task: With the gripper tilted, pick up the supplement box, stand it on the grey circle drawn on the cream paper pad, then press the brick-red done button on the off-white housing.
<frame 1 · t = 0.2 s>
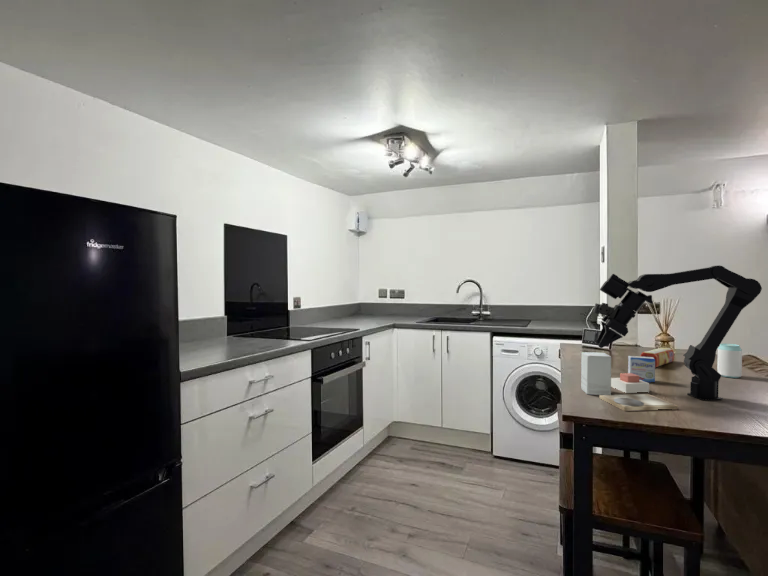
hand: (598, 345, 142), 15 cm above the table, tool tilted 35°, fingers open, 9 cm apart
can: (729, 376, 158), on the table
done button: (629, 379, 141), point 3 cm above the table, slide at 0.0 cm
button housing: (629, 389, 141), on the table
snack package: (657, 365, 180), on the table
supplement box: (595, 392, 138), on the table
medicine box: (641, 381, 153), on the table
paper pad: (636, 403, 125), on the table
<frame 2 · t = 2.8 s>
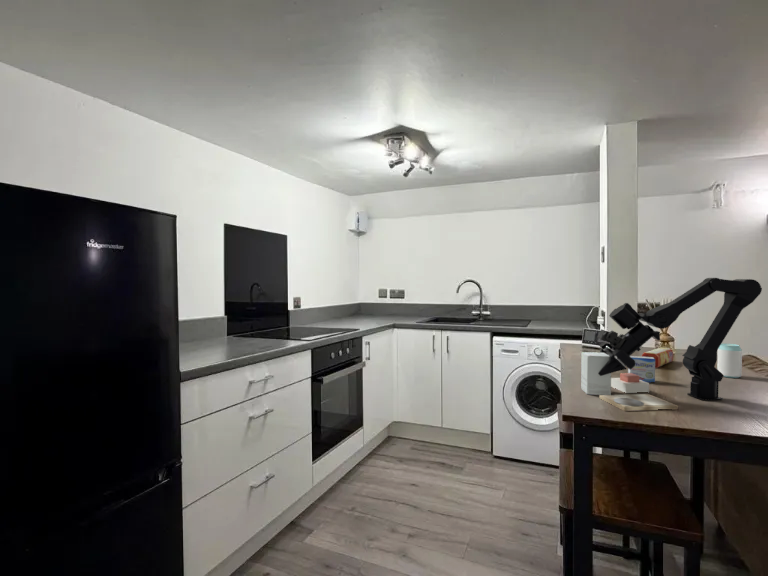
hand: (596, 371, 138), 7 cm above the table, tool tilted 45°, fingers closed on supplement box, 7 cm apart
supplement box: (595, 392, 138), on the table, touching gripper
everything else where it was.
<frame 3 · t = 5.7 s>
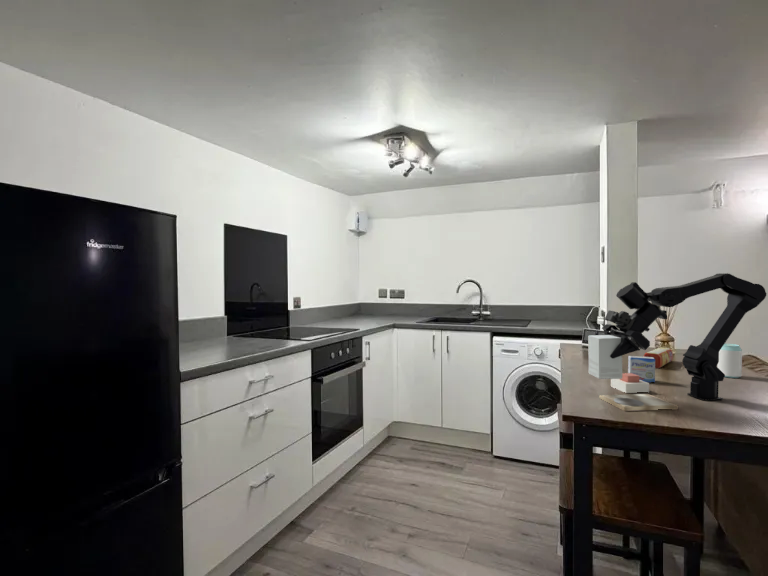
hand: (605, 355, 132), 13 cm above the table, tool tilted 45°, fingers closed on supplement box, 7 cm apart
supplement box: (605, 376, 132), point 6 cm above the table, touching gripper
everything else where it was.
when the fingers open (8 cm above the table, at t = 8.2 s): supplement box stays where it is, resting on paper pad.
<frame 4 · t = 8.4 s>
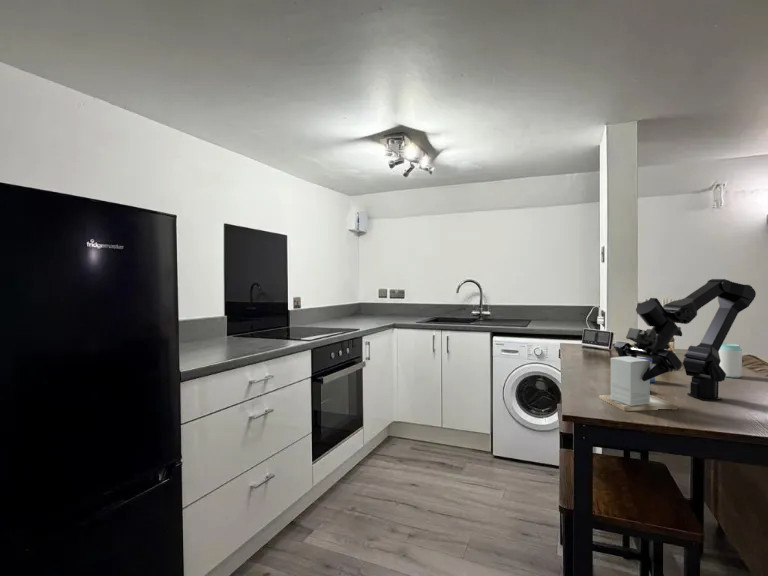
hand: (629, 376, 123), 9 cm above the table, tool tilted 45°, fingers open, 9 cm apart
supplement box: (629, 402, 123), point 1 cm above the table, touching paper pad
everything else where it was.
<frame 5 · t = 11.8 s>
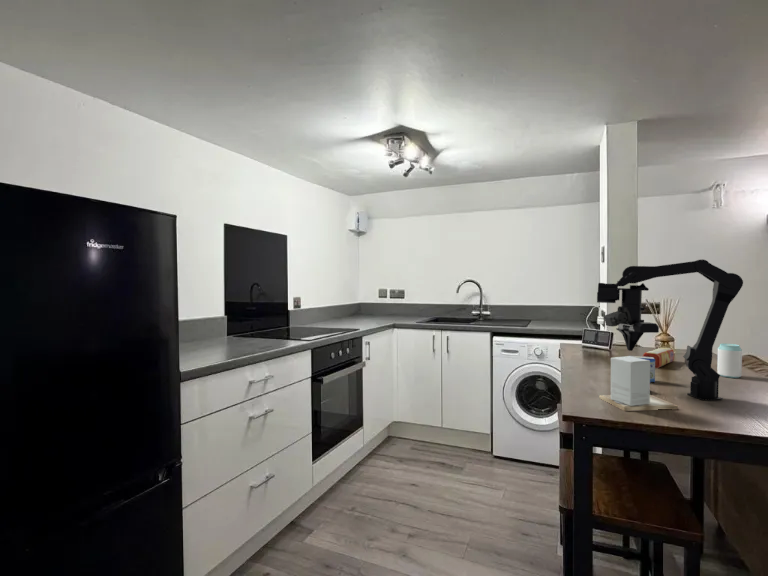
hand: (630, 350, 140), 13 cm above the table, tool pointing down, fingers closed
nothing on the table moved.
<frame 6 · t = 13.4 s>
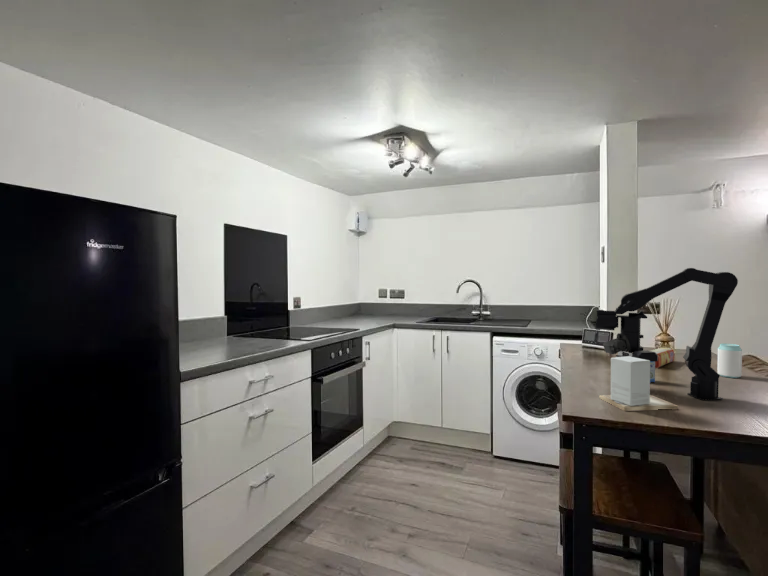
hand: (629, 377, 141), 4 cm above the table, tool pointing down, fingers closed, pressing on done button
done button: (629, 382, 141), point 2 cm above the table, slide at -1.0 cm, touching gripper
everything else where it was.
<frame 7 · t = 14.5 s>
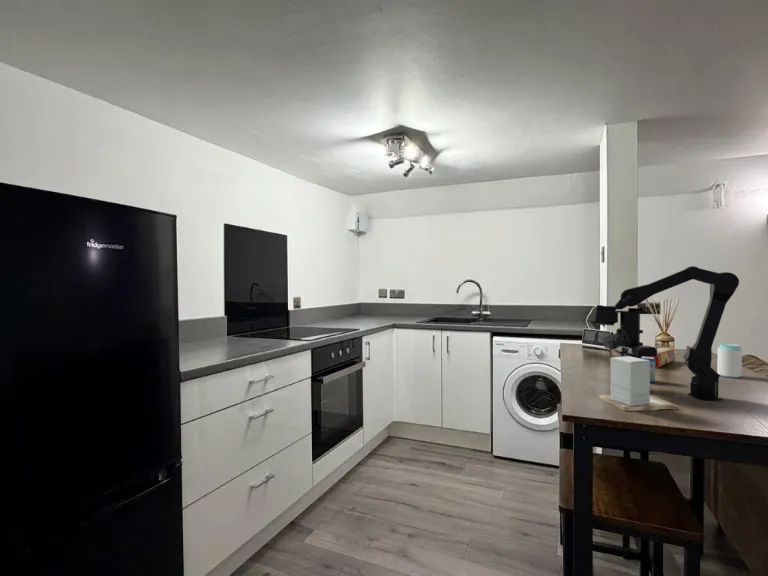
hand: (629, 372, 141), 6 cm above the table, tool pointing down, fingers closed
done button: (629, 383, 141), point 2 cm above the table, slide at -1.6 cm
everything else where it was.
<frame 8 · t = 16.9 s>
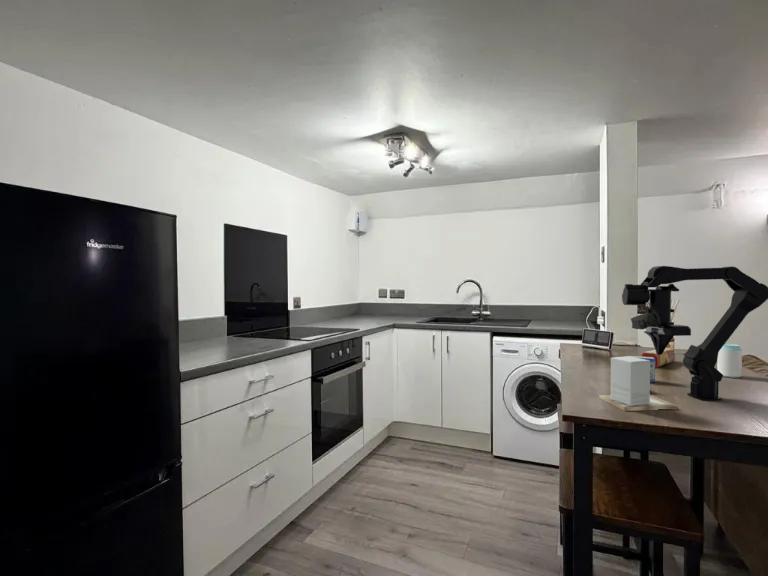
hand: (659, 354, 134), 13 cm above the table, tool pointing down, fingers closed
nothing on the table moved.
at the end: supplement box inside the target area on the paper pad (1.8 cm from its centre), point 1.1 cm above the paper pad's base; supplement box tilted 0°; done button slide at -1.6 cm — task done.
